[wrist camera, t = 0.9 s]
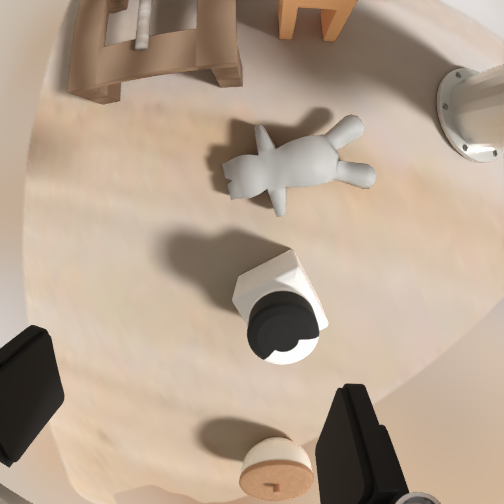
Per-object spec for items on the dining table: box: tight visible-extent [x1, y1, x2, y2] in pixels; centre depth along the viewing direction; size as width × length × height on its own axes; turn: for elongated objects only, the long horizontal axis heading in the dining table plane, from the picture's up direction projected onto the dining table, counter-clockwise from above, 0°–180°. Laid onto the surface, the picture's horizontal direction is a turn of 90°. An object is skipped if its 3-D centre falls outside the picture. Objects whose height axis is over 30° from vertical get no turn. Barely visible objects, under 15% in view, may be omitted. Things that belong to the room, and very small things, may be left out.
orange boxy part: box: [278, 0, 358, 42], centre depth 24 cm, size 6×4×11 cm, turn 92°
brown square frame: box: [67, 0, 243, 104], centre depth 25 cm, size 17×16×9 cm
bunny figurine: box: [222, 114, 376, 217], centre depth 31 cm, size 10×5×15 cm
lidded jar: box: [239, 437, 314, 501], centre depth 39 cm, size 11×11×9 cm
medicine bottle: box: [232, 249, 328, 364], centre depth 31 cm, size 7×7×12 cm
